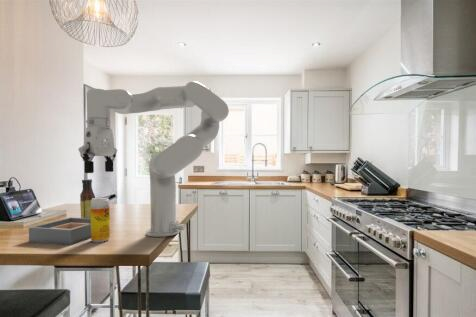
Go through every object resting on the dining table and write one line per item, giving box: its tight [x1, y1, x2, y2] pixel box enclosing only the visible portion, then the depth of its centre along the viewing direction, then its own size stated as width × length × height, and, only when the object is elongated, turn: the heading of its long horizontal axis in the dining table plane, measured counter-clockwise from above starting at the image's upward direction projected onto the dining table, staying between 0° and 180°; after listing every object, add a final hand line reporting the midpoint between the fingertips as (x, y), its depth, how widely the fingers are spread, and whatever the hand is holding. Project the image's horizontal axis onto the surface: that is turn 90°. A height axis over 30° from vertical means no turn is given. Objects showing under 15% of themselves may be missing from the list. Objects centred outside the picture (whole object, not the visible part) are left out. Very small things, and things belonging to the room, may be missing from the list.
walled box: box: [28, 217, 91, 246], centre depth 107 cm, size 18×18×5 cm
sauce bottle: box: [79, 178, 96, 218], centre depth 132 cm, size 7×6×20 cm
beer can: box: [90, 196, 111, 243], centre depth 102 cm, size 6×6×15 cm
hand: (99, 172), depth 102 cm, fingers open, 9 cm apart
